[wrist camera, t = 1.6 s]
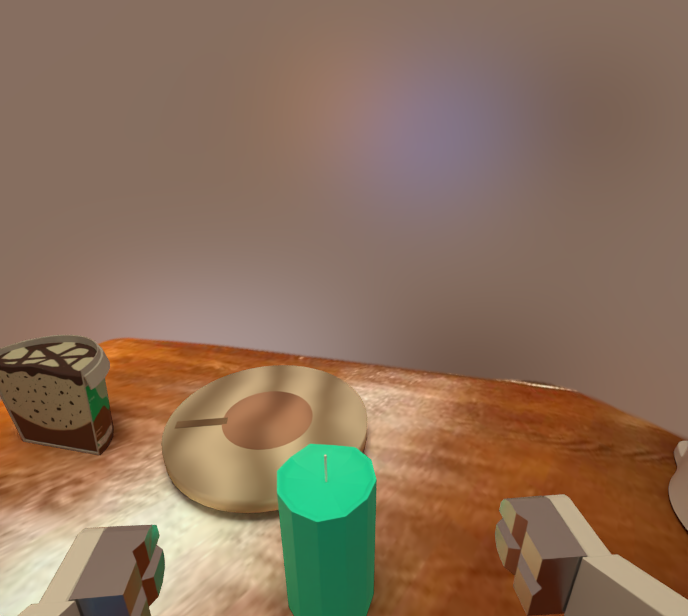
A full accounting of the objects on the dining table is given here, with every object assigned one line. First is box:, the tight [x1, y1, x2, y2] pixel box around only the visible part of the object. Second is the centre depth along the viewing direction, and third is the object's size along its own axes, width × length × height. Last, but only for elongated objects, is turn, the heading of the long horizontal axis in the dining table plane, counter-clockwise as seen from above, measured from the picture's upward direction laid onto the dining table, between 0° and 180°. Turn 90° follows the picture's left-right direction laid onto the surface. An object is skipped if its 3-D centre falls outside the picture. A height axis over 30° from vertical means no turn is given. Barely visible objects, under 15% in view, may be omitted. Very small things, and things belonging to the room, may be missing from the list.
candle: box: [277, 444, 376, 616], centre depth 27 cm, size 6×6×12 cm
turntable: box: [161, 365, 367, 513], centre depth 42 cm, size 20×20×2 cm
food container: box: [0, 335, 113, 455], centre depth 43 cm, size 12×6×10 cm, turn 77°
